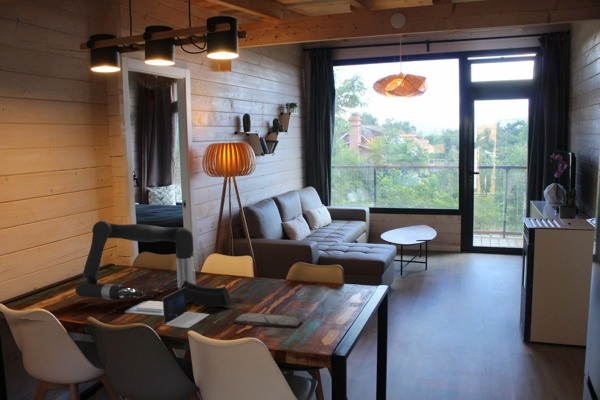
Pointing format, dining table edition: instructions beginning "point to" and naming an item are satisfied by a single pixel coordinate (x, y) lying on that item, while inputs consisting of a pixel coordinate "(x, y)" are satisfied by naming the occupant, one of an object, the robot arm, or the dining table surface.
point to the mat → (134, 310)
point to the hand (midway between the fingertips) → (143, 294)
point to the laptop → (179, 310)
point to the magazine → (207, 295)
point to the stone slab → (268, 320)
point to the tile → (151, 306)
